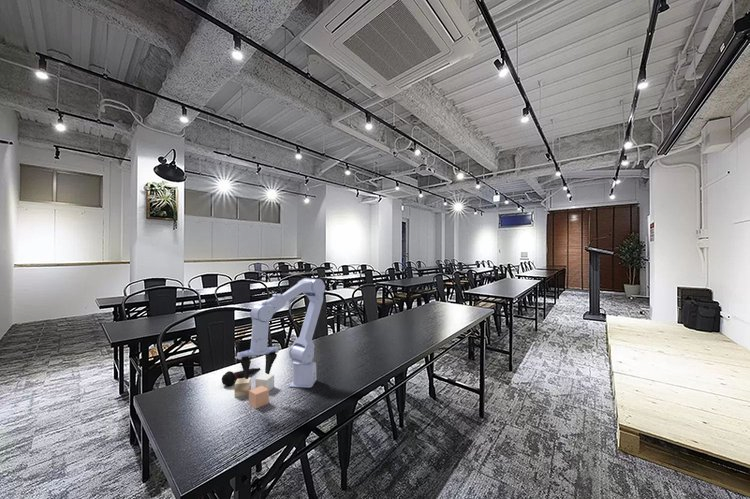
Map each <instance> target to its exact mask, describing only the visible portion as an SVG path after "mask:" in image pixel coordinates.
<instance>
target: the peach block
mask: <svg viewBox="0 0 750 499" xmlns="http://www.w3.org/2000/svg"><path fill="white" fill-rule="evenodd" d="M269 403H270V391H269V389H267V388H265V387H264V386H259V387H257V388H256V387H254V388H251V390H249V396H248V405H250V406H251V407H252V408H253V409H258V408H261V407H263V406H265V405H269Z"/></svg>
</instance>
